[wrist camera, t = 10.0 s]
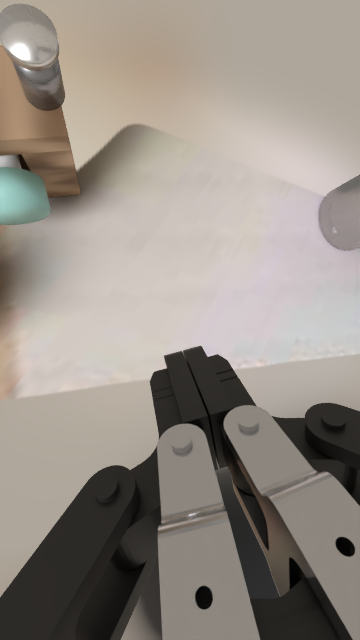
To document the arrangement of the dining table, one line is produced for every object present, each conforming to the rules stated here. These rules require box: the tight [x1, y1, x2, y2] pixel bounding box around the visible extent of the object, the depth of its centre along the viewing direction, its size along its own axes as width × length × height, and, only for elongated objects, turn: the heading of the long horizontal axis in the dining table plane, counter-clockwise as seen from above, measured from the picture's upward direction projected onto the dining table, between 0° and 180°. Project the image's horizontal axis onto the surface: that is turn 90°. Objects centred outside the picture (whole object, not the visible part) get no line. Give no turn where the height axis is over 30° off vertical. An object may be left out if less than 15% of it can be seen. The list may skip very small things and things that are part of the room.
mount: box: [0, 46, 81, 198], centre depth 27 cm, size 12×7×11 cm, turn 102°
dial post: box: [0, 4, 65, 111], centre depth 20 cm, size 3×3×5 cm
